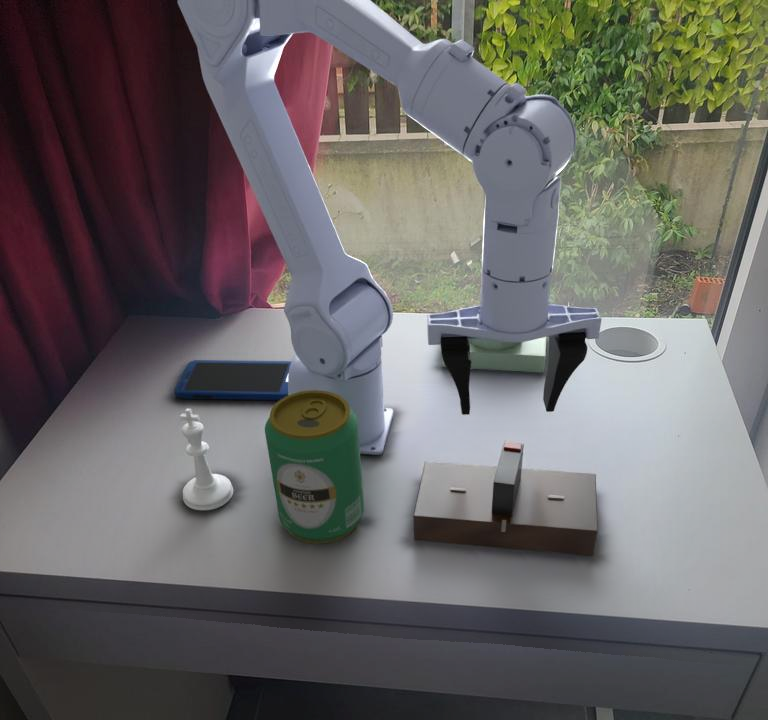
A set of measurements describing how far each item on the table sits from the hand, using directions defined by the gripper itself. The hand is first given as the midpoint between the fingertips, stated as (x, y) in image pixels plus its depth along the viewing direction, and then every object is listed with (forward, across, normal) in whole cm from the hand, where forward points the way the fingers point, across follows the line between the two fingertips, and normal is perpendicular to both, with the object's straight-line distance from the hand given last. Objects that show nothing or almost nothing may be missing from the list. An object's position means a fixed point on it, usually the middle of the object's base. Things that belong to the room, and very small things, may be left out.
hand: (506, 407), depth 75 cm
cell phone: (+8, +28, -19) cm, 35 cm away
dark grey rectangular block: (+5, 0, +6) cm, 8 cm away
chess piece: (+9, +29, +1) cm, 30 cm away
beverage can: (+8, +18, +5) cm, 20 cm away
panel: (+8, 0, +6) cm, 10 cm away
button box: (+8, -2, -24) cm, 25 cm away
